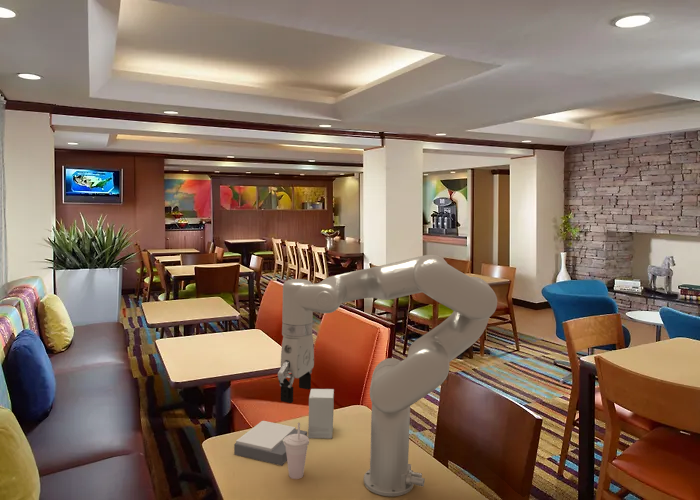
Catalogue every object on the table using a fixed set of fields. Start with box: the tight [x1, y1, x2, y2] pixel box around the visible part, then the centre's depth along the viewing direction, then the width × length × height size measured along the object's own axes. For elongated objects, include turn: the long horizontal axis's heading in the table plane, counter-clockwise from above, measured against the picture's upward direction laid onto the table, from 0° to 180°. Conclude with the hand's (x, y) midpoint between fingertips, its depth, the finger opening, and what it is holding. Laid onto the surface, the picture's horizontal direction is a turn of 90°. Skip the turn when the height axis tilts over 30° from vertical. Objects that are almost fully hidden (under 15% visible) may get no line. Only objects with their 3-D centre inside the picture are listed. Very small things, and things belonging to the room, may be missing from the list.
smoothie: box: [284, 422, 310, 480], centre depth 130 cm, size 6×6×14 cm
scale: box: [233, 420, 308, 467], centre depth 145 cm, size 15×15×4 cm
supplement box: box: [307, 388, 335, 439], centre depth 154 cm, size 7×7×13 cm
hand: (296, 394), depth 129 cm, fingers open, 9 cm apart
